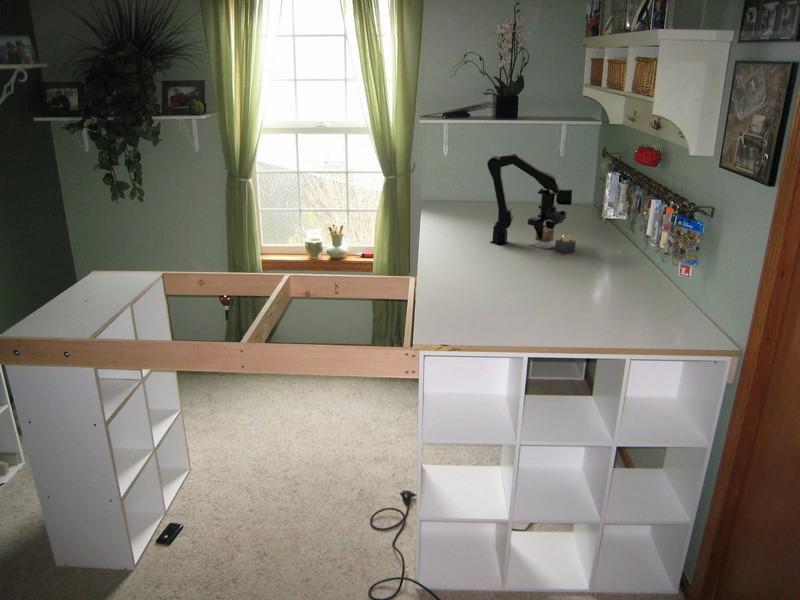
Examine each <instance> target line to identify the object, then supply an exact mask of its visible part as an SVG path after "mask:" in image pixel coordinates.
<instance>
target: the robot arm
mask: <svg viewBox="0 0 800 600" xmlns="http://www.w3.org/2000/svg"><path fill="white" fill-rule="evenodd" d="M486 165H487V170H488V171H489V174H490V176H491V179H492V182H493V187H494V193H495V198H496V202H497V203H496V204H497V209H498V213H497V221H495V223H494V225H493V228H492V229H493V230H492V239H491V240H490V241H489V243H490V244H493V245H496V246H503V245H506V244H510V242H509V241H508V228H510V226H511V225H512V222H513V220H514V216H513V209H512V208H511V209H509V207H508V204H507V200H506V193H505V189H504V188H505V187H504V181H503V177H502V175H503V173H502V172H503V167H508V166H510V165H513V166H515V167H516V168H518V169H520V170H521V171H523V172H524V173H526V174H528V175H529V176H530V177H532V178H534V179H535V181H537V183H539V185H541V186H542V187H541V188H540V189H538V190H537V194H539V195H541V196H540V197H541V198H540V205H538V209H540V210H539V214H537V217H536V216H533V217H530V218H528V219H527V225H529V226H532V227H533V228H534V230H535V234H536V233H537V235H538V238H539V239H542V234H543V228H544V227H545V228H549V229H553V230H555V229H554V228H555V226H556V225H558V224H562V223H563V222H564V220H566V219H567V218H566V217H567V212H566V211H565V210H561V211H559V210H558V211H557V207H556V206H555V203H556V204H557V205H559V206H560V205H561V206H572V200H573V189H561V188H560V186H559V185H558V184H557V178H556V176H555V175H554V174H551V173H549V172H546V171H543V170H541V169H538V168H537V167H536V166H534V165H532V164H531V163H529V162H528V161H527V160H524V159H523V158H522V157H520V156H519V155H518V154H517V153H513V154H509V155H503V156H497V155H493V156H491V157H490V158H489V159H488V160H487V164H486Z"/></svg>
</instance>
